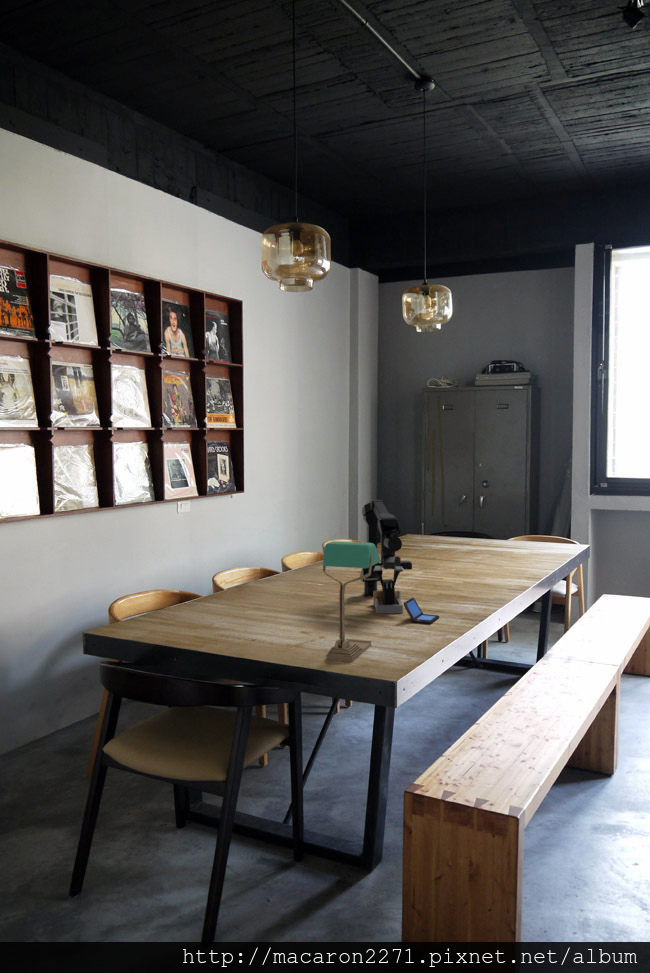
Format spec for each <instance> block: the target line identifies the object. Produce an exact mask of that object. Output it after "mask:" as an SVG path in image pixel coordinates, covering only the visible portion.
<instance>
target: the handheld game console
mask: <svg viewBox="0 0 650 973" xmlns="http://www.w3.org/2000/svg"><path fill="white" fill-rule="evenodd" d="M403 608H405V610H406V612H407V614H408V615H409V618H410V619H411V624H418V623H419V624H421V625H432V624H433V623H435V622H436V621H437V620H438V619H439V618H440V615H438V614H436V615H435V614H427V613H424V612H423V611H422V610H421V607H420V606H419V604H418V602H417V601H416V598H415V597H411V598H409V599H408V600H406V601H404V602H403Z"/></svg>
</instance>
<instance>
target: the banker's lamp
mask: <svg viewBox="0 0 650 973" xmlns="http://www.w3.org/2000/svg"><path fill="white" fill-rule="evenodd" d="M322 562H323V563H322V572H323V573H324V574H325V576H327V577H329V579H332V580H334V581H335V582H337V583H339V592H338V593H339V594H338V595H339V596H338V602H339V603H338V604H339V606H338V608H339V610H338V613H339V614H338V615H339V616H338V617H339V618H338V619H339V623H338V624H339V636H338V637H339V638H338V639H336V640H335V642H334V643H335V644H334V645H333V646H332V647H330V649H329V651H328V652H327V654H326V655H325V660H326V659H330V660H329V661H336V660H340V661H339V662H348V663H353V662H355V661H356V660H357V659H358V658H359V657H360V656H361V655H362V654H364V653H365V652H366V651H367V650H368V649H370V648H371V647H372V640H368V639H354V638H346V635H345V634H346V633H345V632H346V631H345V630H346V629H345V622H346V621H345V618H346V617H345V592H346V591H345V590H346V586H347V585H348V584H351V583H354V582H357V581H360V579H365V578H367V577H369V576H370V575H371V568H372V566H373V565H375V564H377V563H378V562H379V563H381V556H380V555H379V552H378V547H377V548H376V546H375V545H374V544H373V543H367V542H359V541H357V542H356V541H355V542H353V541H337V540H336V541H335V540H334V541H330V542H327V543H325V546H324V549H323V560H322ZM326 567H334V568H335V567H336V568H351V569H352V568H353V569H362V568H369V573H368V574H366V575H364V576H361V577H360V576H359V577H357V578H353V579H351V580H348V581H345V582H344V583H343V582H342V581H340V580H338V579H337V578H334V577H333V576H332V575H330V574H329V573H328V572H326ZM369 647H370V648H369ZM363 652H364V653H363ZM357 657H358V658H357ZM356 658H357V659H356Z"/></svg>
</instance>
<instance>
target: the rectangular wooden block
mask: <svg viewBox="0 0 650 973" xmlns="http://www.w3.org/2000/svg"><path fill="white" fill-rule="evenodd" d="M401 594H402V593H401V590H399V589H398V590H395V604H396V598H399V599H400V601H401ZM372 597H373V599H372V600H373V601H372V602H373V605H374V606H375V598H377V600H378V602H379V605H381V604H383V599H382V590H377V591H373V596H372ZM401 602H402V601H401Z"/></svg>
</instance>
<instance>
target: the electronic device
mask: <svg viewBox="0 0 650 973" xmlns="http://www.w3.org/2000/svg"><path fill="white" fill-rule="evenodd" d="M395 587H396V586H394V582H393V578H390V579H383V587H382V586H381V591H382V599H383V605H395Z"/></svg>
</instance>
